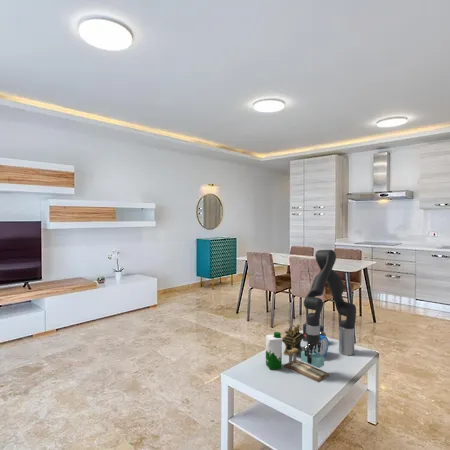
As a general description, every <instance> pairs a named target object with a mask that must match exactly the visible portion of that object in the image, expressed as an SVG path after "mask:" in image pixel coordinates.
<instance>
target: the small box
mask: <svg viewBox="0 0 450 450" xmlns="http://www.w3.org/2000/svg"><path fill="white" fill-rule="evenodd" d="M319 325H320V331H322V332H325V331H324V329H325V328H324V325H321V324H319ZM306 326H307V321H306V322H305V323H303V324H302V334H304V335H305V337H304V338H303V339H302V341H304V342H307V340H306ZM322 336H323V335H322Z"/></svg>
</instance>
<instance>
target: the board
mask: <svg viewBox="0 0 450 450" xmlns="http://www.w3.org/2000/svg"><path fill="white" fill-rule="evenodd" d="M296 352H298V349H297V348H292V350H288V353H289V355H288V362H287V363H284V365H283V367H285V368H286V369H288V370H291V371H293V372H295V373H297V374H299V375H301V376H304V377H306V378H308V379H310V380H313V381H315V382H317V383H319V382H320V381H322V380H323V379H326V378H328V377H329V375H330V373H329V372H327V371H325V370H322V369H320V368H317V367H315V366H313V365H310V364H308V363H306V362H303V361H301V360H298V359H297V355H296ZM292 354H293V356H292Z"/></svg>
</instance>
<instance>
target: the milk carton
mask: <svg viewBox="0 0 450 450" xmlns="http://www.w3.org/2000/svg"><path fill="white" fill-rule="evenodd" d="M281 334H282V333H281V332H279V331H274V332H273V334H265V364H266V367H267V368H268V369H269V370H270V371H273V370H281V369H282V358H283V357H282V355H283V352H282V348H283V345H282V344H283V341H282V338H283V337H282V335H281Z"/></svg>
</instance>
